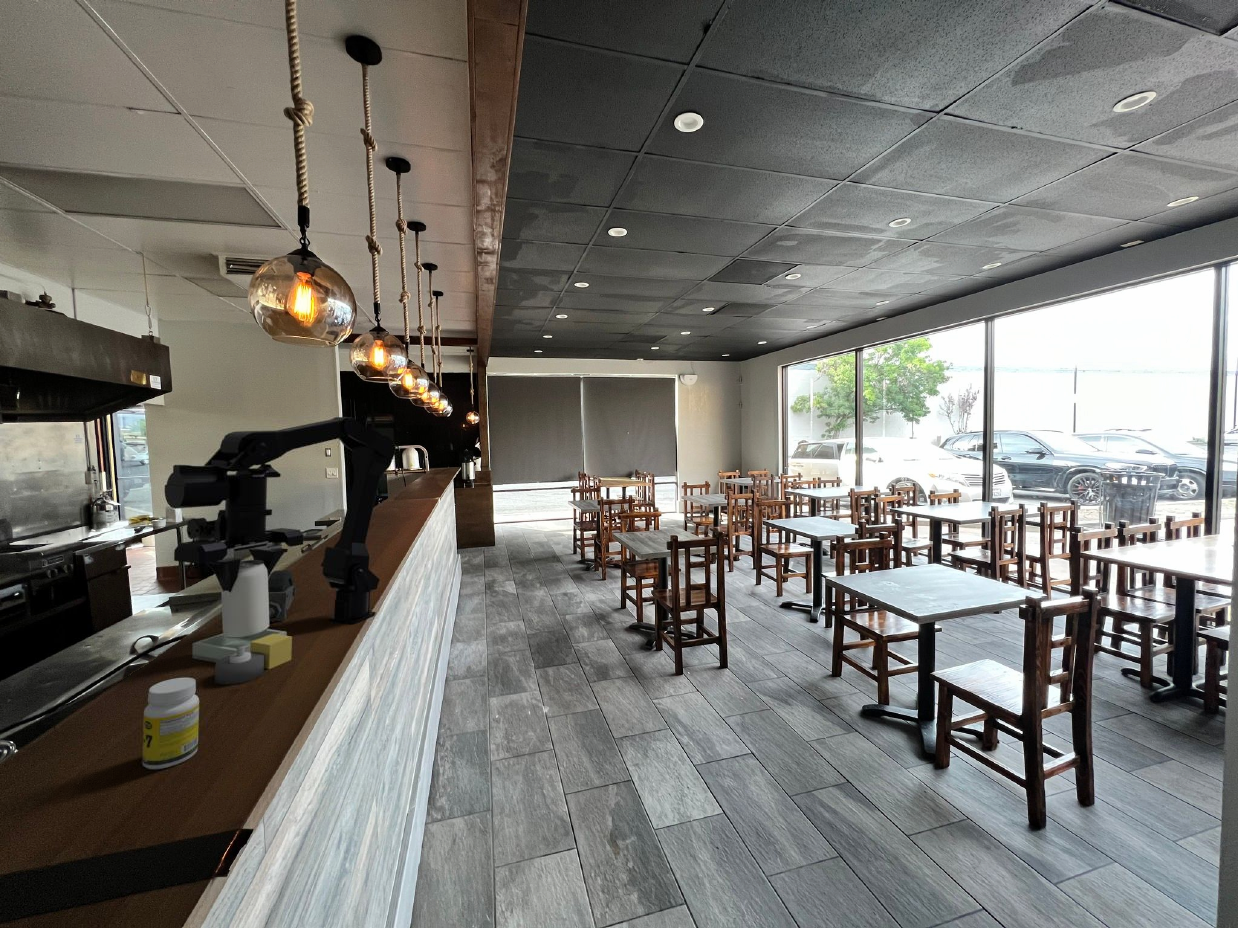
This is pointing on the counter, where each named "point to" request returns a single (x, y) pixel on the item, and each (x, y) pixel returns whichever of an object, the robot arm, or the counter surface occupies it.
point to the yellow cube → (273, 649)
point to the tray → (225, 645)
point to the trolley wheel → (239, 667)
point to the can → (247, 602)
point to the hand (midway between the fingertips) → (243, 593)
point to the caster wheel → (280, 594)
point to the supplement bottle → (170, 723)
